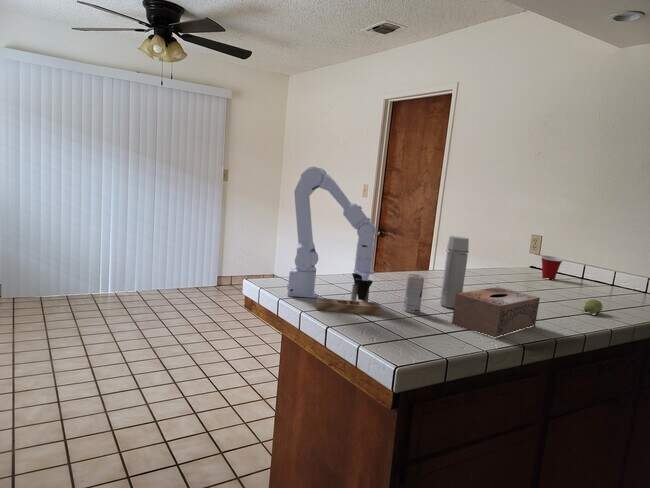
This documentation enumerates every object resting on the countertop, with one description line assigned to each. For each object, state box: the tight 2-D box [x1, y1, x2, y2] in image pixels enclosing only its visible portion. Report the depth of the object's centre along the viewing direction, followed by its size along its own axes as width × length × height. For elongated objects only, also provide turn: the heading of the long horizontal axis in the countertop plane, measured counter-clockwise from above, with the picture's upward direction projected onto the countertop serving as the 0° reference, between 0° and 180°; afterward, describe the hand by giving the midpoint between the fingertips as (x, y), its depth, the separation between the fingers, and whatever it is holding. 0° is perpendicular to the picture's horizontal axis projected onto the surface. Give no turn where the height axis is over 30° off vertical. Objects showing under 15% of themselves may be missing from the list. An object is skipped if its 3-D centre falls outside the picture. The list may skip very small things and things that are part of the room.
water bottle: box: [439, 235, 470, 309], centre depth 159 cm, size 9×8×25 cm
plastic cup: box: [540, 255, 564, 280], centre depth 242 cm, size 11×11×12 cm
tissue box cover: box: [451, 286, 541, 337], centre depth 142 cm, size 26×14×10 cm, turn 131°
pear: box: [583, 299, 603, 314], centre depth 173 cm, size 6×5×10 cm
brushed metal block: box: [350, 283, 371, 302], centre depth 153 cm, size 6×2×6 cm, turn 93°
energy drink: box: [403, 273, 425, 314], centre depth 149 cm, size 5×5×12 cm
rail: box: [315, 297, 382, 316], centre depth 143 cm, size 20×5×2 cm, turn 93°
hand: (359, 296), depth 154 cm, fingers open, 7 cm apart
